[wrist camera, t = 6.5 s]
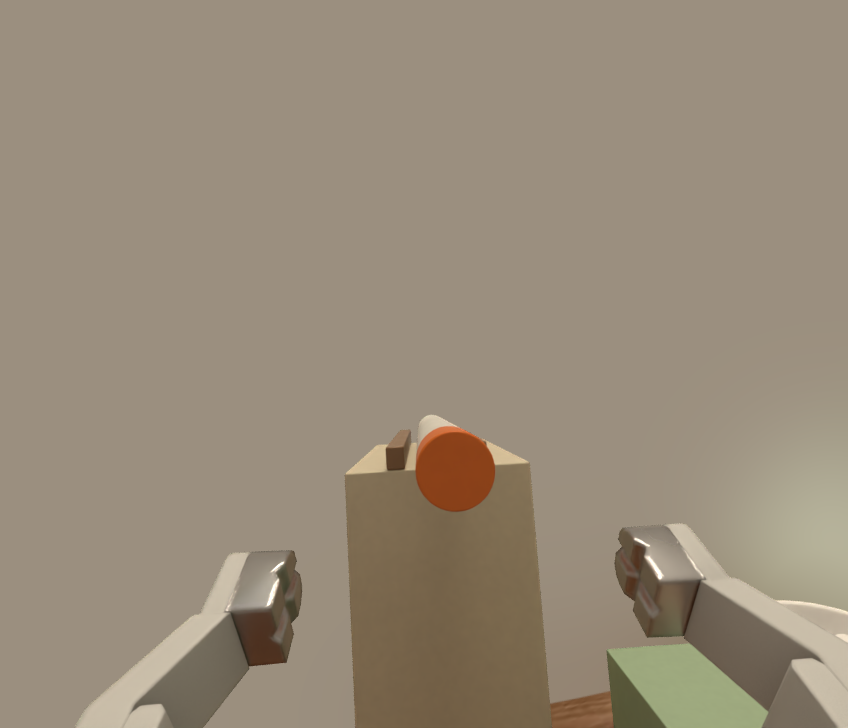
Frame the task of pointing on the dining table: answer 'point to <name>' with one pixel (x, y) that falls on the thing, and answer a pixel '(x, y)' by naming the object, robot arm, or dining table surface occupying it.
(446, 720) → the tall stand
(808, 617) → the mug
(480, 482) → the marker
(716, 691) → the low block
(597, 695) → the dining table surface
